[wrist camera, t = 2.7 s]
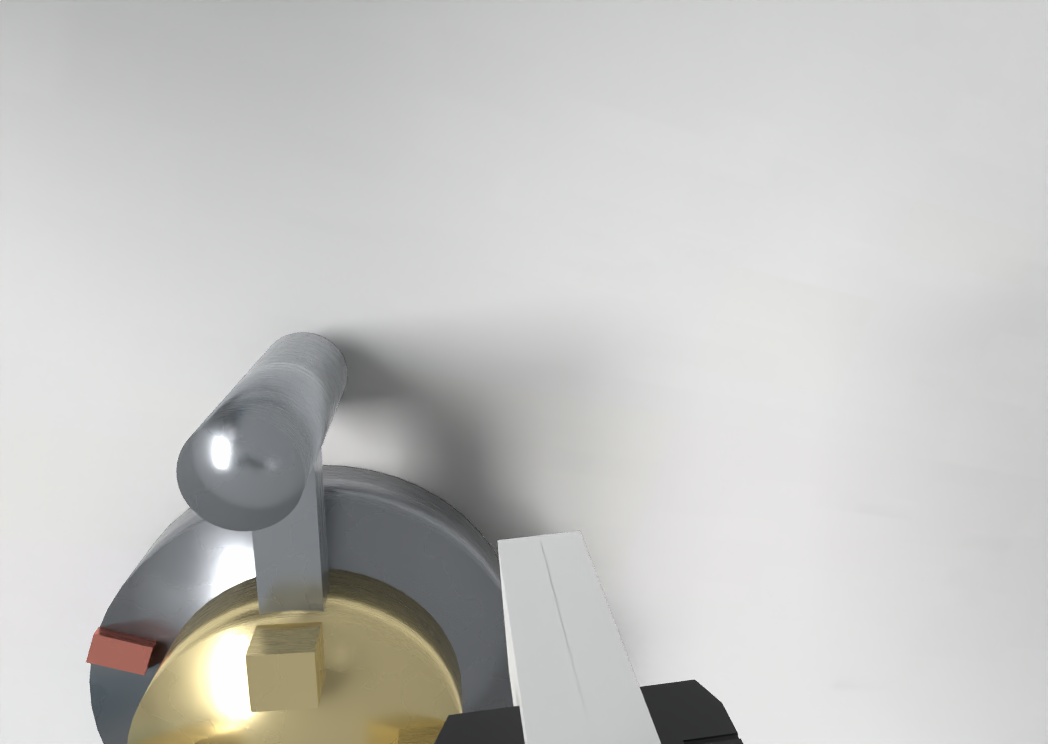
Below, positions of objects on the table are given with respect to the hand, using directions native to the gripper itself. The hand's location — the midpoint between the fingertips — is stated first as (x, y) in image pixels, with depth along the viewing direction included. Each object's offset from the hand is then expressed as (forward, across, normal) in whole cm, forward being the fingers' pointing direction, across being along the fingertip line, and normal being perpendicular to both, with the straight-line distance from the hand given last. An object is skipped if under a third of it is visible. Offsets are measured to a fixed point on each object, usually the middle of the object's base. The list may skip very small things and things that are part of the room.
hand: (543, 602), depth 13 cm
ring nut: (+15, -7, -7) cm, 18 cm away
